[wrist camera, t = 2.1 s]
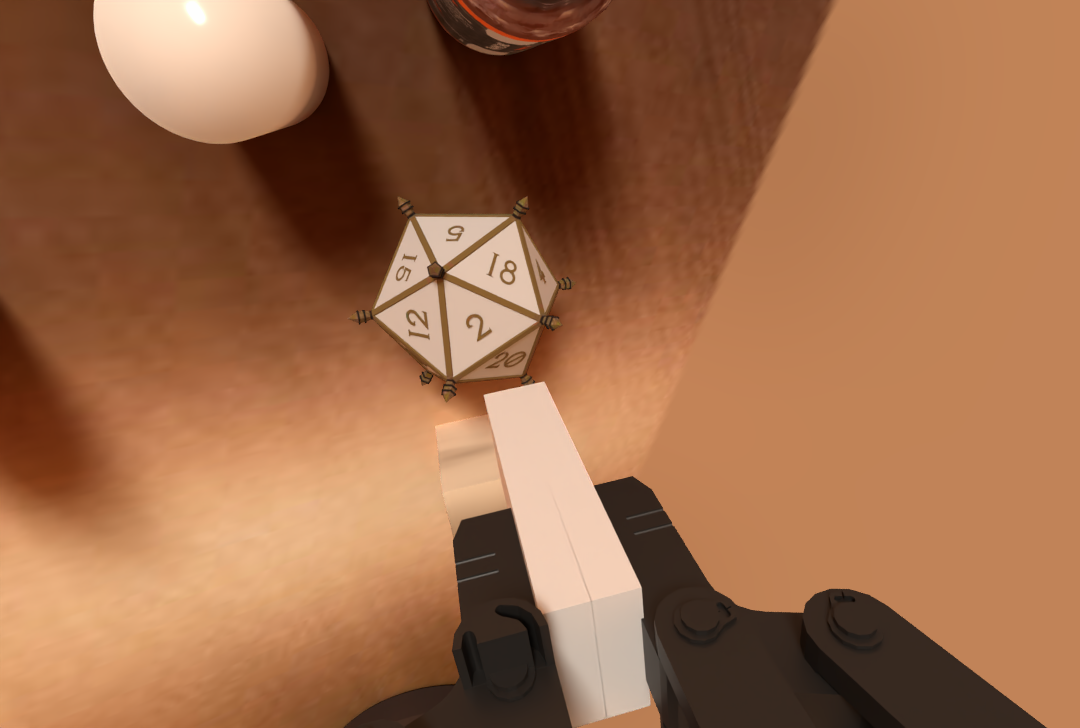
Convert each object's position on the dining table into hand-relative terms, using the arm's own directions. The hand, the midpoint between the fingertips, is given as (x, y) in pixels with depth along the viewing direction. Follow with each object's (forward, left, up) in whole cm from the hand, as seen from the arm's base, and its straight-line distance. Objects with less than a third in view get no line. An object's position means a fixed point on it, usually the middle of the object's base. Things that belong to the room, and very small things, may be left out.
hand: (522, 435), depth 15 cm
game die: (0, 0, -16) cm, 16 cm away
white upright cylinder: (+10, +6, -15) cm, 19 cm away
